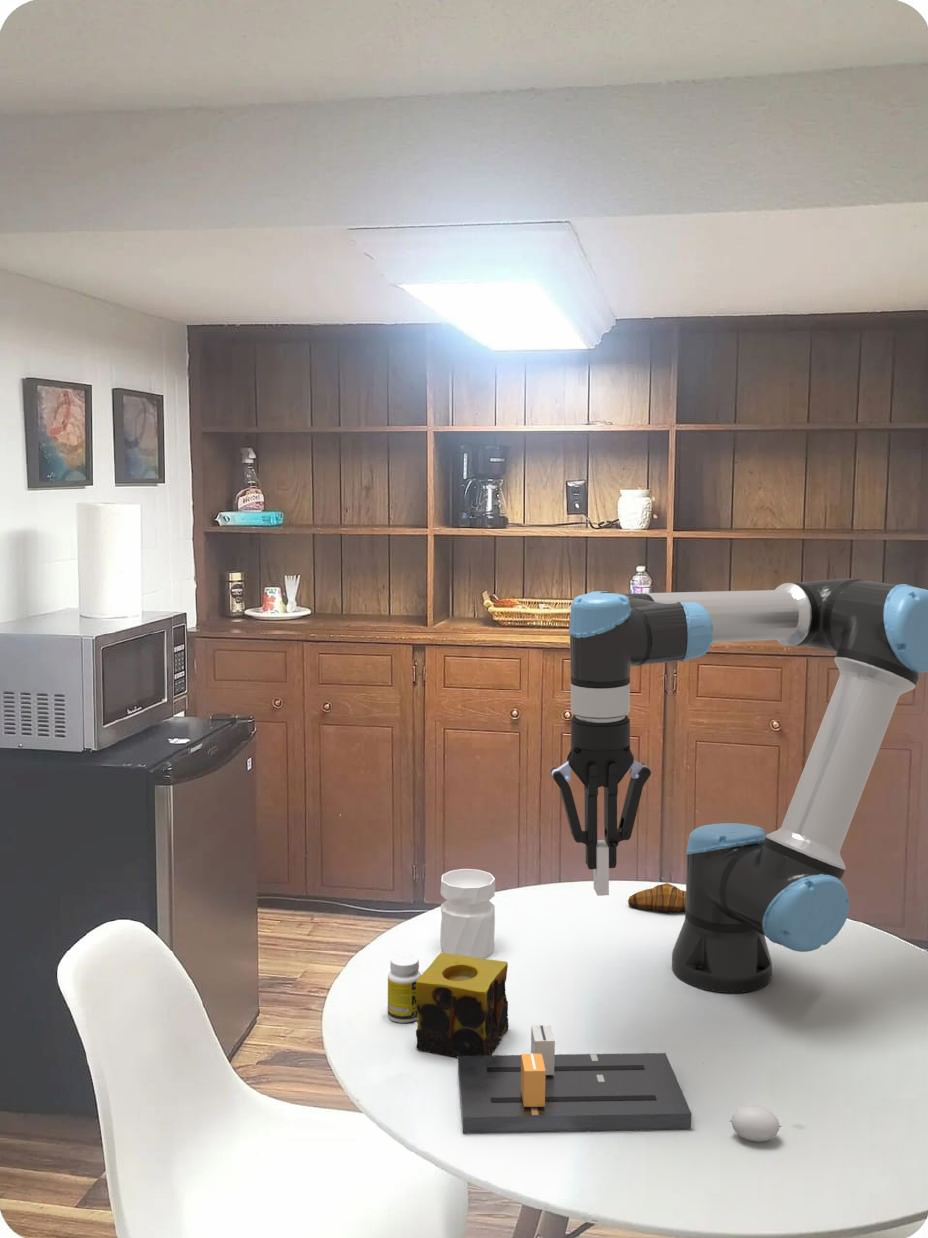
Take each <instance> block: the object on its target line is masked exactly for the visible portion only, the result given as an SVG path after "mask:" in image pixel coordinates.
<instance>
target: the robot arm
mask: <svg viewBox="0 0 928 1238" xmlns="http://www.w3.org/2000/svg"><path fill="white" fill-rule="evenodd" d="M568 634H569V654H570V655H569V656H570V657H569V661H570V663H569V664H570V712H571V713H572V714H573V716H572V717H571V718H570V751H569V753H568V755H567V757H566V762H564V763H563V764H561V765H560V766H558V767H556V766H555V767H554V766H553V767H552V768H551V769H550V774H551V776H552V778H553V780H554V781H555V782H556V784H557V786H558V788H559V791H560V796H561V799H562V803H563V807H564V811H565V815H566V818H567V823H568V826H569V831H570V834H571V836H572V838H573V839H574V841H575V842H576V843H577V844H578V843H579V844H581V843H582V844H584V845H585V863H586V866H587V869H588V870H593V890H594V891H595V894H596V896H610V882H609V881H610V869H615V868H616V866H617V859H618V858H617V847H618V846H619V844H620V842H622V841H623V842H624V841H629V840H630V839H631V837H632V833H633V829H634V826H635V821H636V816H637V812H638V810H639V804H640V800H641V798H642V792H643V788H644V786H645V784H646V783H647V781H648V780H649V778H650V776H651V775H652V771H651V769H650V768H649V767H648V766H647V764H645V763H643V762H642V763H640V761H637V760H636V759H635V757H634V754H633V753H632V751H631V720H630V719H631V718H630V717H628V714H629V713H630V712H631V698H630V697H631V694H630V693H631V691H630V689H631V687H630V686H631V685H630V684H631V678H630V677H631V667H636V666H643V665H644V666H646V665H654V664H662V663H672V662H686V661H688V660H693V659H698V658H702V657H703V656H704V655H705V654H707V653H708V652H709V650H710V648H711V646H712V643H713V644H715V643H737V642H738V643H741V642H742V643H743V642H760V641H762V642H763V641H777V642H778V643H779V644H780V645H782V646H785V647H797V646H798V647H799V646H800V647H806V648H807V647H809V648H813V649H818V650H823V651H827V652H831V653H835V657H834V658H833V659H834V663H835V665H836V667H837V669H838V671H839V676H838V679H837V682H836V685H835V686H834V689H833V693H832V695H831V696H830V697H831V698H830V700H829V702H828V706H827V707H826V710H825V713H824V716H823V717H822V721H821V723H820V726H819V729H818V731H817V734H816V736H815V739H814V741H813V744H812V747H811V750H810V752H809V754H808V756H807V757H808V758H807V759H806V762H805V765H804V768H803V770H802V773H801V774H800V775H801V776H800V777H799V780H798V782H797V785H796V788H795V790H794V793H793V795H792V799H791V800H790V803H789V806H788V808H787V811H786V814H785V816H784V819H783V821H782V824H781V827H779V828H778V829H777V830H775V831H771V832H770V833H767V832H766V830H765V829H764V828H762V827H761V826H757V825H752V824H746V823H736V822H735V823H733V822H731V823H725V822H724V823H721V822H720V823H712V824H705V825H701V826H698V827H696V828H695V829H693V830H692V831H691V832H690V834H689V836H688V843H687V849H686V852H685V855H686V874H685V875H686V877H685V878H686V880H685V891H686V905H685V907H686V908H685V913H684V921H683V924H682V926H681V929H680V931H679V934H678V936H677V939H676V942H675V944H674V946H673V950H672V952H671V953H672V954H671V969H672V972H673V973H674V974H675V976H676V977H677V978H679V979H680V980H681V981H683V982H685V983H686V984H689V985H691V986H694V987H696V988H699V989H702V990H708V991H712V992H719V993H729V994H732V993H733V994H734V993H735V994H736V993H737V994H738V993H747V992H748V993H749V992H753V991H756V990H757V991H758V990H760V989H762V988H765V987H766V986H767V985H769V983H770V982H771V980H772V977H773V976H772V974H773V973H772V972H773V962H772V958H771V954H770V950H769V947H768V943H767V940H766V938H767V939H768V940H769V941H770V942H772V943H773V944H777V945H780V946H783V947H785V948H787V949H788V950H792V951H795V952H800V953H801V952H802V953H804V952H806V953H807V952H812V951H816V950H818V949H820V948H821V947H822V946H825V945H827V944H829V943H830V942H832V940H833V939H835V937H837V935H838V934H839V933H840V931H841V930H842V929H843V927H844V925H845V923H846V921H847V919H848V916H849V912H850V906H851V903H850V900H849V899H848V898H849V892H848V890H847V887H846V886H845V885H844V883H843V881H842V879H843V876H844V874H845V871H846V868H847V867H846V865H845V862H844V860H843V858H842V856H841V850H842V848H843V847H842V846H843V844H844V841H845V839H846V836H847V835H848V831H849V828H850V826H851V824H852V820H853V818H854V816H855V813H856V810H857V807H858V805H859V802H860V800H861V797H862V795H863V792H864V789H865V786H866V785H867V782H868V779H869V777H870V773H871V772H872V768H873V766H874V764H875V761H876V758H877V755H878V753H879V750H880V748H881V745H882V743H883V740H884V737H885V734H886V732H887V729H888V727H889V724H890V721H891V719H892V717H893V714H894V711H895V709H896V707H897V703H898V701H899V698H900V697H901V696H902V695H903V694H905V693H908V692H911V691H912V690H914V689H915V688H916V686H917V683H918V680H919V678H920V675H921V674H925V673H927V672H928V589H925V588H920V587H918V586H917V587H916V586H912V585H910V584H908V583H907V584H906V583H901V584H899V583H890V582H889V583H888V582H879V581H873V580H865V579H859V578H835V579H834V578H833V579H823V580H814V581H804V582H802V581H801V582H785V583H782V584H780V585H778V586H777V587H776V588H775V589H772V590H771V589H767V590H765V589H764V590H763V589H762V590H760V589H759V590H726V591H724V590H723V591H722V590H721V591H720V590H717V591H685V592H683V591H682V592H681V591H680V592H677V591H675V592H644V593H637V592H635V593H633V592H632V593H614V592H613V593H612V592H611V591H608V590H606V591H605V590H604V591H591V592H588V593H585V594H580V595H578V596H576V597H574V599H573V600H572V601H571V604H570V613H569V628H568ZM572 771H573V773H574V775H576V777H577V778H578V779H579V780H580V782H581V783H582V784H583V790H584V791H583V792H584V830H582V827H581V823H580V817H579V815H578V810H577V806H576V803H575V799H574V795H573V792H572V788H571V787H570V784H569V782H570V781H572V775H571V772H572ZM628 771H629V776H630V779H629V782H628V786H627V790H626V795H625V799H624V802H623V807H622V810H621V815H620V819H619V824H618V794H619V785H618V784H619V783H620V782H621V781H622V779H623V778H624V777H625V775H626V774H627V772H628ZM601 787H603V788H602V789H603V812H604V813H603V821H604V823H603V825H604V827H603V830H604V831H603V832H604V839H598V795H599V788H601ZM765 937H766V938H765Z"/></svg>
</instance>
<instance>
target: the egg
mask: <svg viewBox="0 0 928 1238" xmlns="http://www.w3.org/2000/svg"><path fill="white" fill-rule="evenodd" d="M728 1122H730V1123H731V1127H732V1129H733V1130H734V1132H735V1133H736V1134H738V1136H739V1137H741V1138H743V1139H744V1140H747V1141H751V1142H756V1143H757V1142H767V1141H769V1140H771V1139H773V1138H774V1137H775V1136H777V1134H778V1133H779V1130H780V1128H781V1127H782V1125H780V1122H779V1119H778V1118H777V1116H776V1115H775V1114H774V1113H773V1112H772V1111H770V1110H769V1109H767V1108H764V1107H762V1106H758V1105H757V1106H756V1105H746V1106H743V1107H740V1108H739V1109H736V1110H735V1111H734V1113H733V1114H732V1116H731V1119H729V1120H728Z"/></svg>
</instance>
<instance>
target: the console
mask: <svg viewBox="0 0 928 1238" xmlns="http://www.w3.org/2000/svg"><path fill="white" fill-rule="evenodd" d="M457 1074H458V1086H459V1087H458V1088H459V1101H460V1114H461V1126H462V1127H461V1128H462V1134H497V1133H498V1134H499V1133H503V1134H504V1133H505V1134H506V1133H508V1134H509V1133H551V1132H552V1133H554V1132H555V1133H559V1132H560V1133H561V1132H566V1133H567V1132H613V1131H616V1132H618V1131H623V1132H624V1131H625V1132H626V1131H666V1130H667V1131H668V1130H669V1131H670V1130H671V1131H673V1130H678V1131H679V1130H680V1131H682V1130H692V1118H693V1117H692V1111H691V1109H690V1106H689V1104H688V1102H687V1099H686V1097H685V1095H684V1092H683V1091H682V1088H681V1085H680V1083H679V1081H678V1079H677V1077H676V1074H675V1072H674V1069H673V1067H672V1065H671V1062H670V1060H669V1058H668V1056H667V1054H666V1052H657V1053H656V1052H644V1053H642V1052H641V1053H630V1052H629V1053H575V1054H574V1053H573V1054H568V1053H567V1054H566V1053H565V1054H555V1058H554V1075H546V1077H545V1106H544V1107H524V1105H523V1099H522V1093H521V1054H505V1055H503V1054H502V1055H500V1054H497V1055H496V1054H495V1055H492V1054H491V1055H487V1056H458V1057H457Z"/></svg>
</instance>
